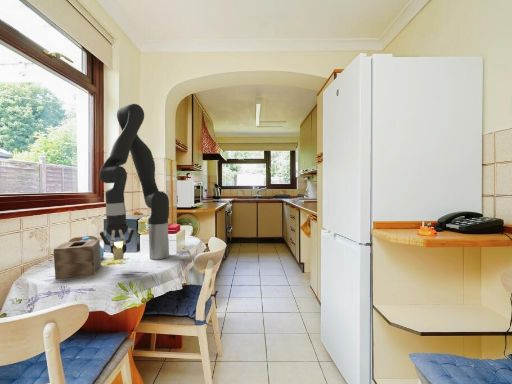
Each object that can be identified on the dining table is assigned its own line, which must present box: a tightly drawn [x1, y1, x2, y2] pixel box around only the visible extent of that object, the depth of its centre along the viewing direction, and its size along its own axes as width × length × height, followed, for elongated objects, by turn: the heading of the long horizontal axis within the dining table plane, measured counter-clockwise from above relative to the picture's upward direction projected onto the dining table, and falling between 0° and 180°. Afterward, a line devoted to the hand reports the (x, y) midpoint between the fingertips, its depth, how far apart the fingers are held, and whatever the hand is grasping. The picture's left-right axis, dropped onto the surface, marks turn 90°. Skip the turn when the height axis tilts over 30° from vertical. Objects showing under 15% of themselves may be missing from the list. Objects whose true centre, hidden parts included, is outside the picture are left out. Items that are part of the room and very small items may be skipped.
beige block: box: [112, 240, 125, 261], centre depth 123 cm, size 4×7×5 cm, turn 20°
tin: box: [68, 235, 99, 242], centre depth 161 cm, size 15×3×8 cm, turn 114°
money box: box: [53, 239, 101, 279], centre depth 125 cm, size 14×14×12 cm
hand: (118, 253), depth 123 cm, fingers closed on beige block, 3 cm apart
